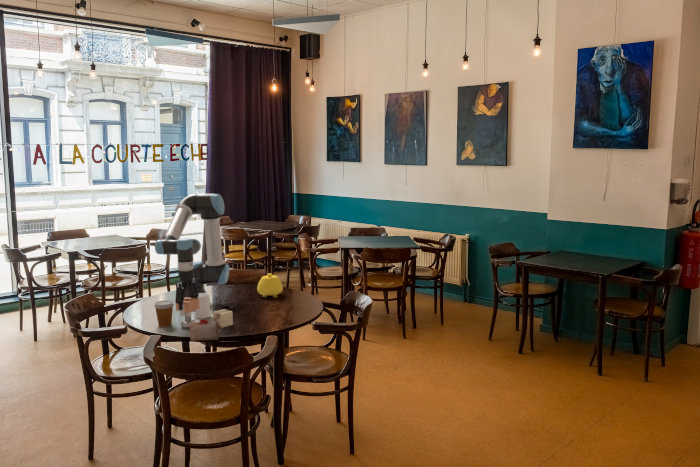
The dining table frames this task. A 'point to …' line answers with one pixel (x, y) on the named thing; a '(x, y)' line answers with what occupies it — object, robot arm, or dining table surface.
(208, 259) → the robot arm
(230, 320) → the pedestal
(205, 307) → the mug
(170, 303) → the disposable coffee cup
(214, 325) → the food item
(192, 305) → the collar
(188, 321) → the hub
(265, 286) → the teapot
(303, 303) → the dining table surface
